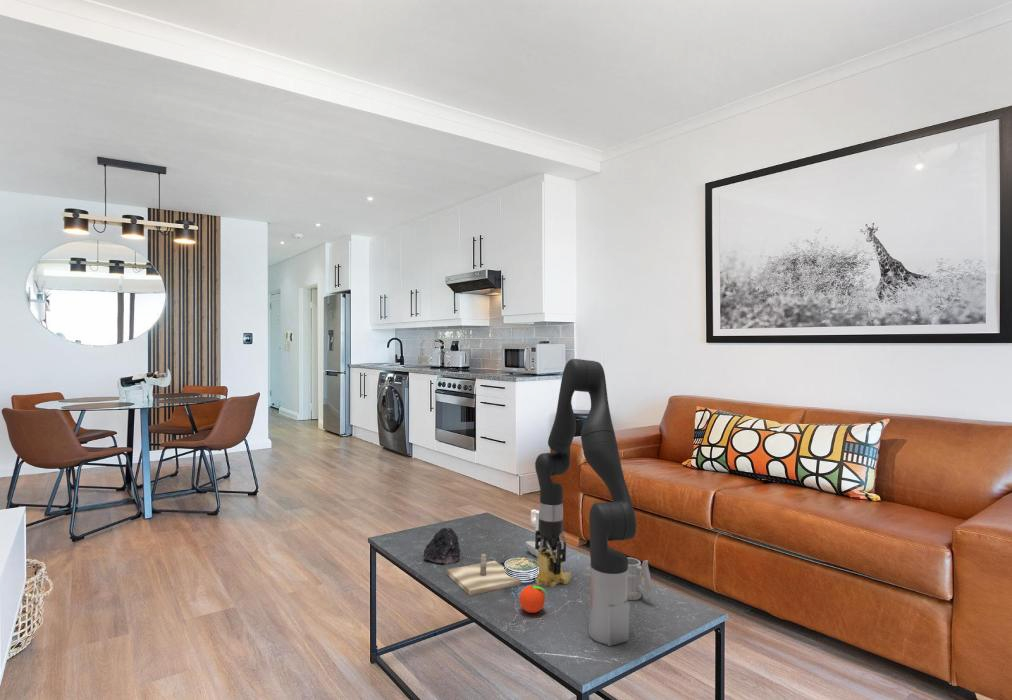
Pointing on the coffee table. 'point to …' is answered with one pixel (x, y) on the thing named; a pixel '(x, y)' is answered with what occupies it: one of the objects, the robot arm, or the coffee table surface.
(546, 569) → the gear
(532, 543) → the figurine
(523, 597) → the clementine
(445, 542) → the black rock
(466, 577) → the carrier plate
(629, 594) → the mug
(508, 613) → the coffee table surface
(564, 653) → the coffee table surface
